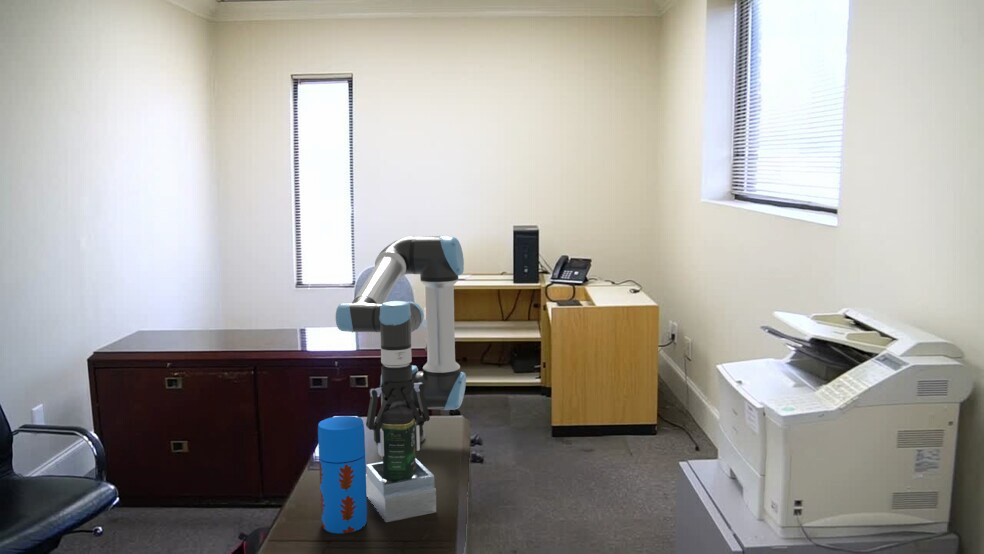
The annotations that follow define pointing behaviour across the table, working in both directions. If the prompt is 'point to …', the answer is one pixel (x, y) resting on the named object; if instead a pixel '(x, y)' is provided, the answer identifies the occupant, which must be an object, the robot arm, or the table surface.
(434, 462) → the table surface
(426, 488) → the open grey metal box
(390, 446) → the coffee jar
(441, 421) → the table surface
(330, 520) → the thermos
